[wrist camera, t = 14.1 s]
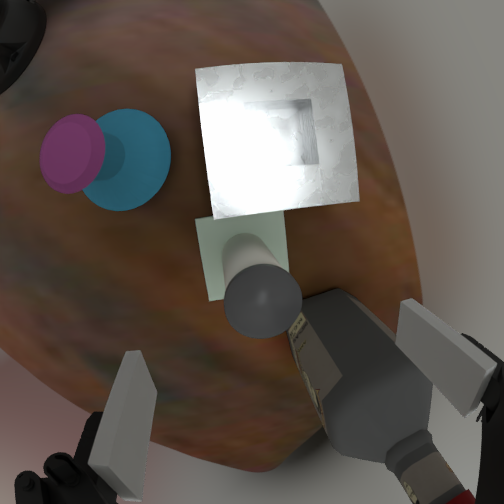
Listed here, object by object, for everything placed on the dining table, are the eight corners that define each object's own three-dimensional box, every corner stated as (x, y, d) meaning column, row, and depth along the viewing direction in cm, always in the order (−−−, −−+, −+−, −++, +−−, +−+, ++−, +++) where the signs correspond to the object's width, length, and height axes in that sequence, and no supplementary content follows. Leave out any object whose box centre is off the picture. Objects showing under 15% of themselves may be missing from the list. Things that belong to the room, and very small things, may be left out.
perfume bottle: (182, 119, 27) (154, 69, 12) (172, 208, 29) (134, 241, 14) (100, 118, 25) (20, 85, 11) (91, 203, 27) (7, 230, 13)
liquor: (350, 280, 34) (545, 461, 5) (357, 339, 36) (491, 513, 7) (278, 304, 33) (409, 568, 4) (293, 363, 36) (387, 577, 7)
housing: (198, 88, 26) (195, 69, 20) (319, 81, 27) (341, 64, 21) (213, 210, 29) (213, 219, 24) (334, 195, 31) (359, 201, 25)
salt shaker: (216, 234, 29) (218, 274, 18) (266, 227, 30) (299, 261, 18) (223, 282, 31) (230, 344, 19) (271, 275, 31) (303, 331, 20)
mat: (195, 218, 29) (194, 219, 29) (281, 206, 30) (282, 206, 30) (209, 298, 32) (209, 301, 31) (289, 285, 33) (290, 287, 32)
